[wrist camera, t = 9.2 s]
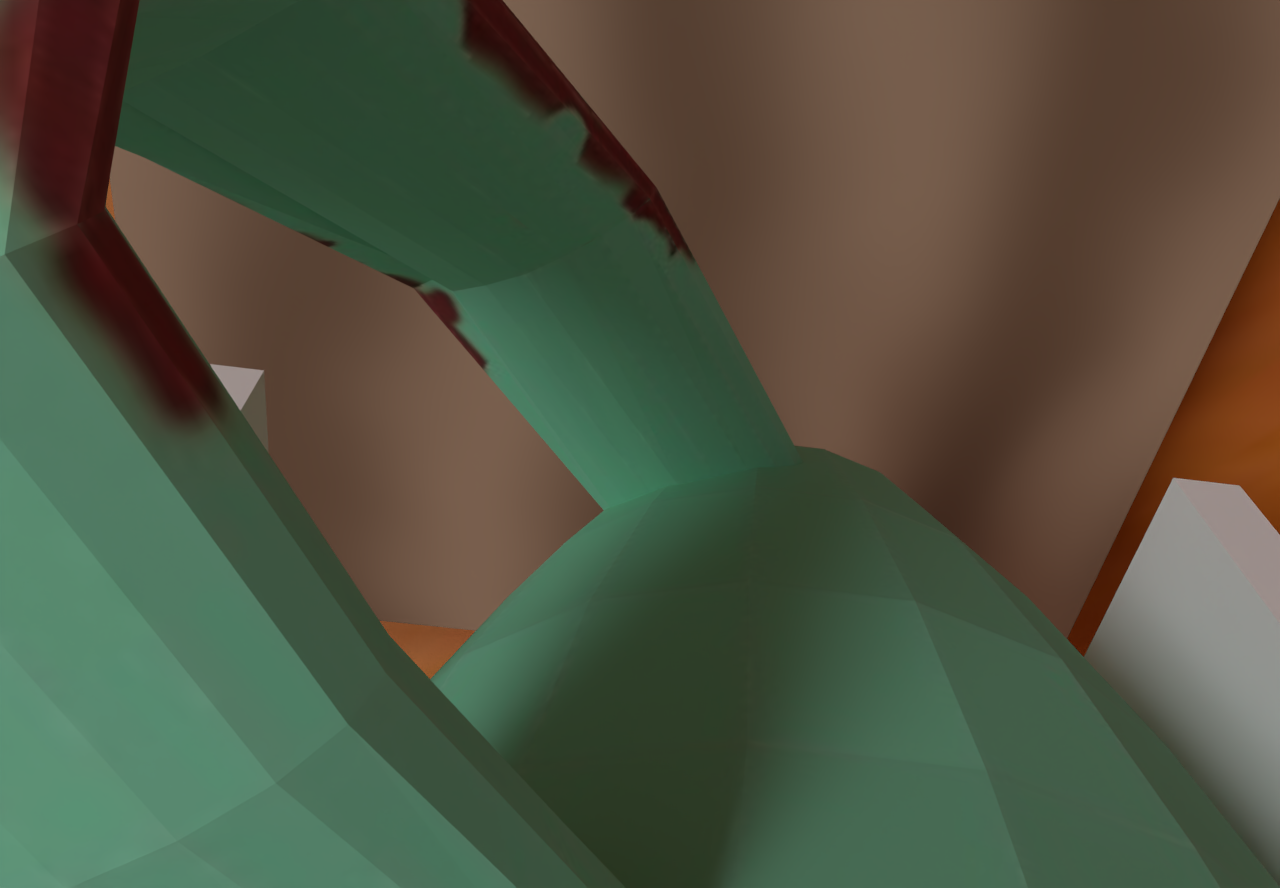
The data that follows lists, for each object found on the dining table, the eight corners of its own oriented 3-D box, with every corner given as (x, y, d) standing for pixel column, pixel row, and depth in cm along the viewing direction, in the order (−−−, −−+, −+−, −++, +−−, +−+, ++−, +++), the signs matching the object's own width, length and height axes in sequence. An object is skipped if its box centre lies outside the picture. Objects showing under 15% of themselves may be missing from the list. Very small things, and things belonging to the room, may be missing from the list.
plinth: (1381, -352, 18) (1554, -372, 14) (995, 577, 29) (1042, 689, 25) (131, -583, 16) (0, -665, 13) (223, 491, 27) (164, 598, 24)
